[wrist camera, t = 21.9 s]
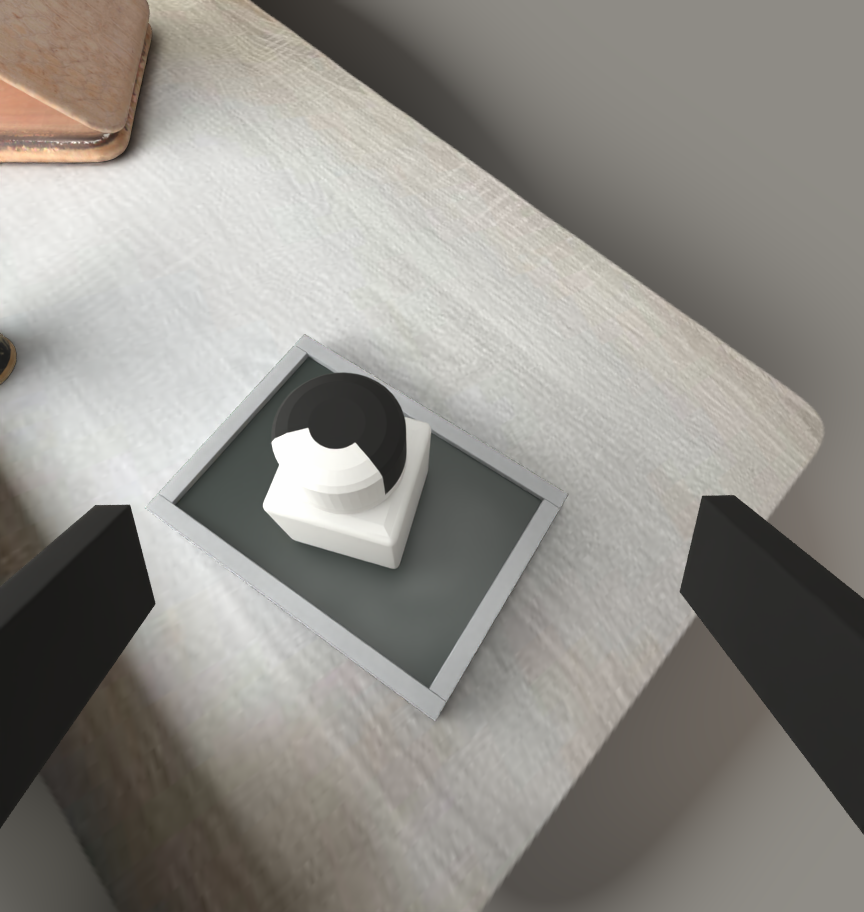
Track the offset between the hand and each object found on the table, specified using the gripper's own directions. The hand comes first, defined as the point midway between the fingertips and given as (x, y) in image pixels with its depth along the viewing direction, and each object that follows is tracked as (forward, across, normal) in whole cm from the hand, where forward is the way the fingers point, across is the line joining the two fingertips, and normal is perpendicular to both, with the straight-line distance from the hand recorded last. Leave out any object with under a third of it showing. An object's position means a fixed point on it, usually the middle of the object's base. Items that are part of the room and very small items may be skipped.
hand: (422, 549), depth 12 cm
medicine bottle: (+20, -4, -9) cm, 22 cm away
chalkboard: (+21, -4, -10) cm, 23 cm away
